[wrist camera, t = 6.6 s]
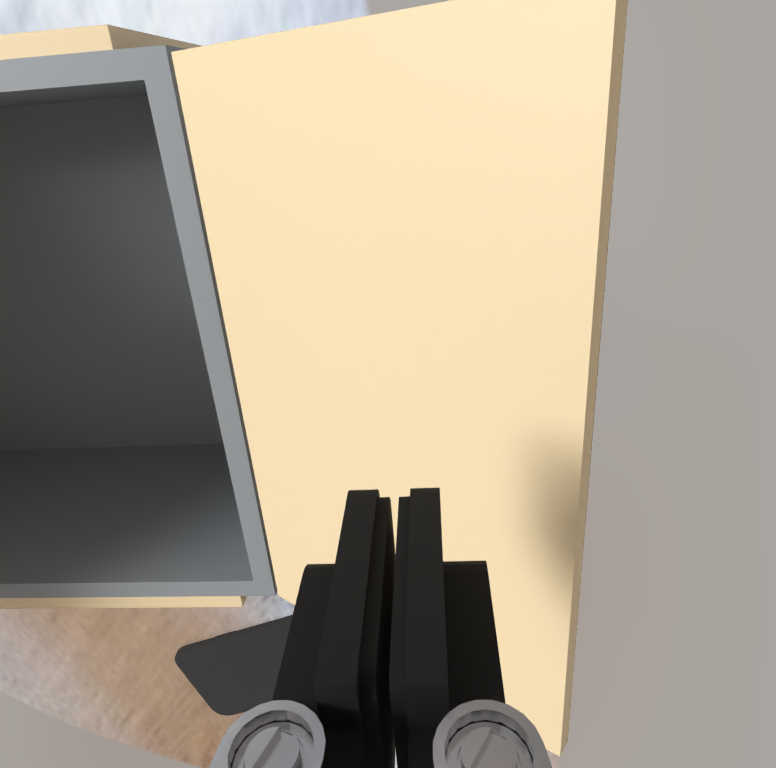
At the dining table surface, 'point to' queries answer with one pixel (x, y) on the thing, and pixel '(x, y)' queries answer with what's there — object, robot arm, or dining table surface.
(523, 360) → the carton flap
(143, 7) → the dining table surface
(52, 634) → the dining table surface
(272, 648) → the phone
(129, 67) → the carton
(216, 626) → the dining table surface
